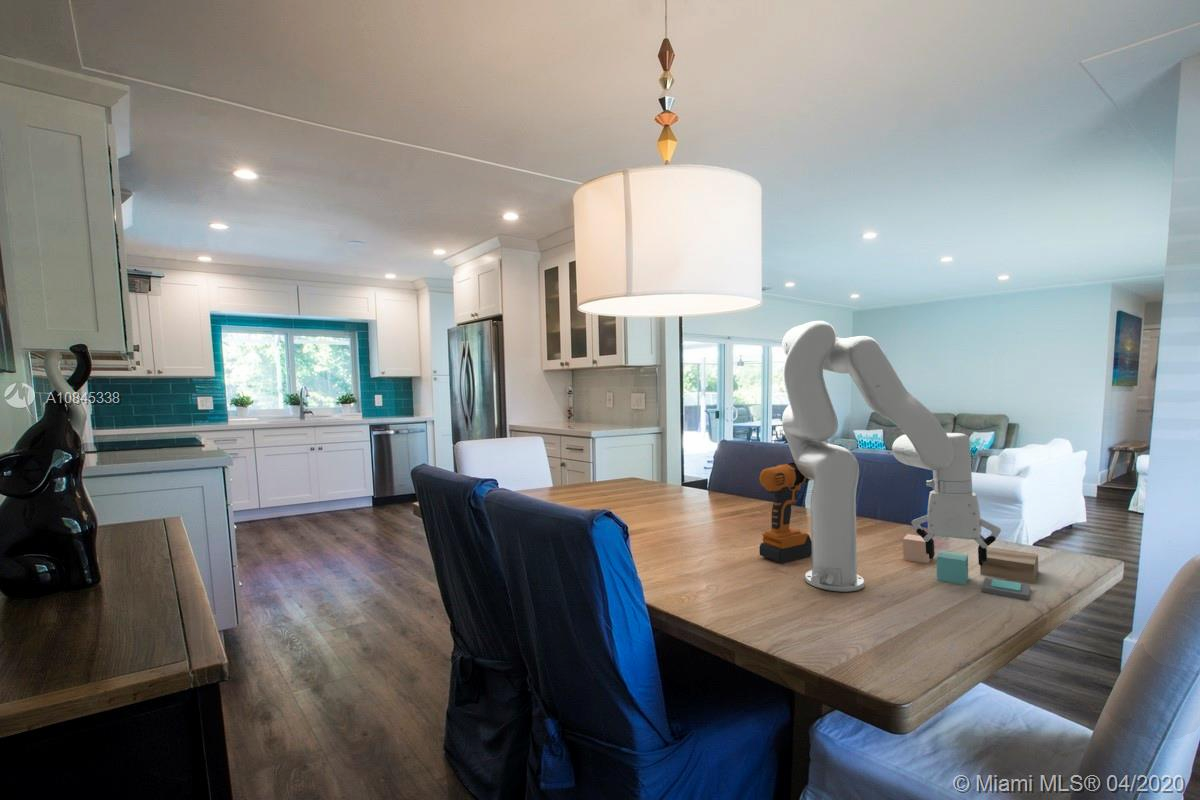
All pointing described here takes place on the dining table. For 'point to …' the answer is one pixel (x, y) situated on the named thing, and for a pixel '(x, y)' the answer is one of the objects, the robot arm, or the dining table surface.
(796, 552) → the power drill
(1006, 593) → the tile
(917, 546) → the terracotta block
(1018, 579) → the walnut block
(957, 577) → the teal block
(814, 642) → the dining table surface
